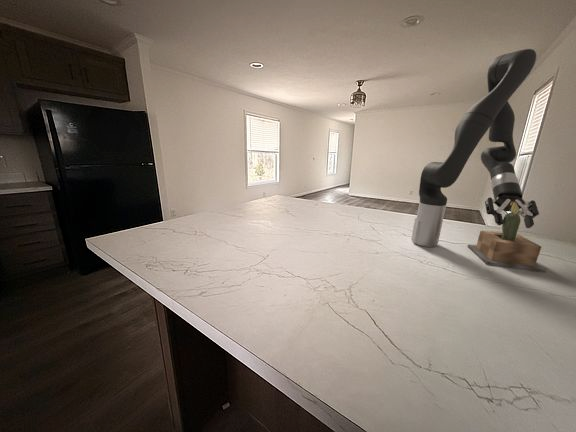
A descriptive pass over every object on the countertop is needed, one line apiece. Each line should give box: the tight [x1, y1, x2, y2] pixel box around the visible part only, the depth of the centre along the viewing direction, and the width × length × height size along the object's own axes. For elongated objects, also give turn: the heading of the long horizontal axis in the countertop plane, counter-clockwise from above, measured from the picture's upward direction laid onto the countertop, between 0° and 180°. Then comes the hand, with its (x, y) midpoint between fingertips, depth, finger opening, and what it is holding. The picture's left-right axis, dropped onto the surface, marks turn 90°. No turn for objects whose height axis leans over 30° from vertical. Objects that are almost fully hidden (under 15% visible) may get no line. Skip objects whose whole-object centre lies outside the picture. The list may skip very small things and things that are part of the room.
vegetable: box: [501, 202, 521, 241], centre depth 81 cm, size 4×4×20 cm
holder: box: [467, 230, 547, 274], centre depth 82 cm, size 16×16×8 cm
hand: (514, 225), depth 79 cm, fingers open, 7 cm apart
